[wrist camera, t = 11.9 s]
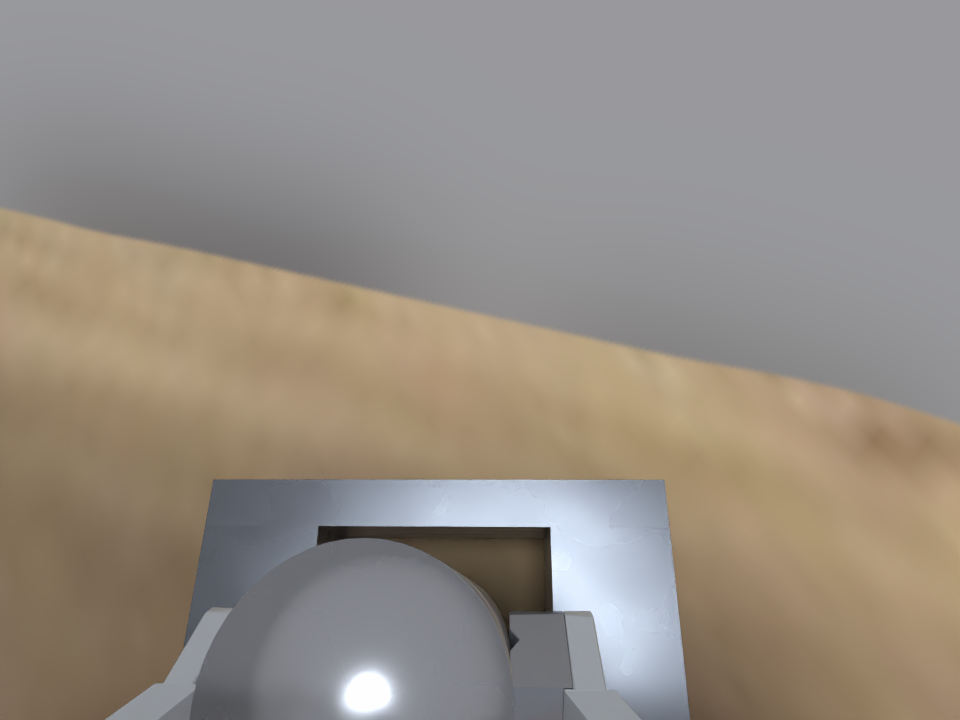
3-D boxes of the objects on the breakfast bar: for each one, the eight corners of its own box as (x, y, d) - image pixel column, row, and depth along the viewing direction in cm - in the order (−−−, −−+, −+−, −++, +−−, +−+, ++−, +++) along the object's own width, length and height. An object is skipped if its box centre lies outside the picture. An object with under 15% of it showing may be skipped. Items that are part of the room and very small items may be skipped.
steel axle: (351, 738, 15) (155, 909, 7) (364, 569, 16) (220, 536, 8) (510, 742, 15) (515, 923, 6) (509, 571, 16) (513, 539, 8)
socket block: (208, 821, 16) (144, 869, 13) (257, 497, 19) (213, 479, 16) (671, 833, 15) (707, 885, 12) (640, 498, 18) (664, 479, 16)
